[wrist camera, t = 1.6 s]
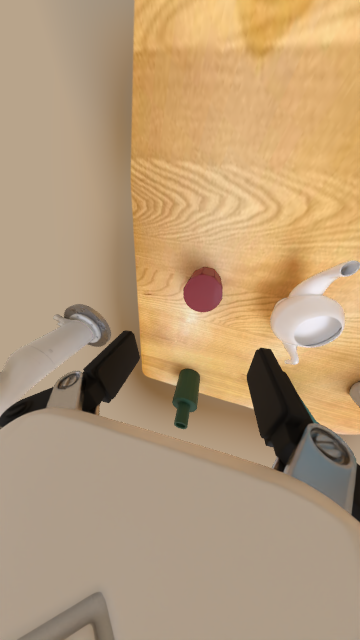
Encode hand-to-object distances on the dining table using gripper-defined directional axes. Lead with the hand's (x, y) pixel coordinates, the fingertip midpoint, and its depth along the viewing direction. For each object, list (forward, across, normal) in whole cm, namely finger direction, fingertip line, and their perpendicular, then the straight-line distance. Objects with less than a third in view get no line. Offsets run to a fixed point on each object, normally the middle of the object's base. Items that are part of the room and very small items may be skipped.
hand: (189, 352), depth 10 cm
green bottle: (+22, +3, +33) cm, 40 cm away
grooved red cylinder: (+22, 0, 0) cm, 22 cm away
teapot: (+22, -18, +5) cm, 29 cm away
